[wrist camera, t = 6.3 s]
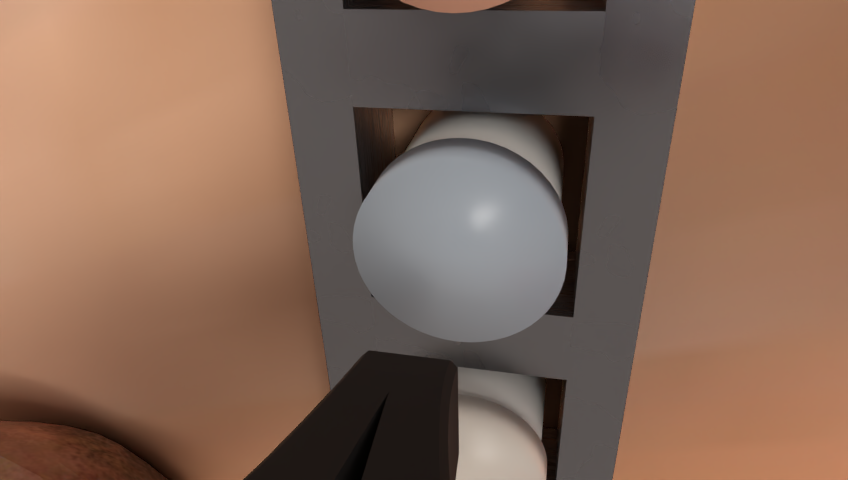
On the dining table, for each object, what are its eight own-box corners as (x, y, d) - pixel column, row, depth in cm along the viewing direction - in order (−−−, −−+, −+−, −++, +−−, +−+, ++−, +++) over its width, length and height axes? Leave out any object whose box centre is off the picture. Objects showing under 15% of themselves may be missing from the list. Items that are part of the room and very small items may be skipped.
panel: (754, -533, 10) (810, -660, 7) (596, 485, 22) (597, 565, 20) (275, -461, 12) (188, -546, 9) (375, 451, 24) (351, 522, 22)
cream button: (558, 319, 19) (550, 437, 15) (548, 425, 21) (539, 550, 17) (412, 304, 20) (371, 412, 16) (418, 407, 22) (383, 523, 18)
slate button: (579, 86, 15) (576, 165, 12) (565, 244, 18) (558, 352, 14) (399, 80, 16) (342, 152, 12) (408, 231, 18) (362, 330, 15)
